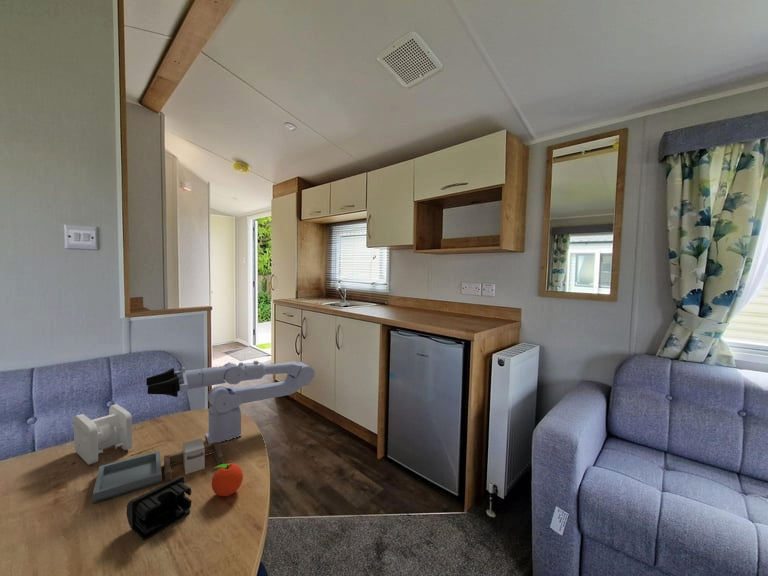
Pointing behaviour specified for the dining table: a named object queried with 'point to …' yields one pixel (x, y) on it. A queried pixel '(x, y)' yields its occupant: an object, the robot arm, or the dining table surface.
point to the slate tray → (127, 476)
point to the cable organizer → (102, 433)
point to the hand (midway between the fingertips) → (146, 385)
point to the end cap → (159, 508)
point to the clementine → (227, 479)
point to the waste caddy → (193, 455)
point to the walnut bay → (178, 458)
